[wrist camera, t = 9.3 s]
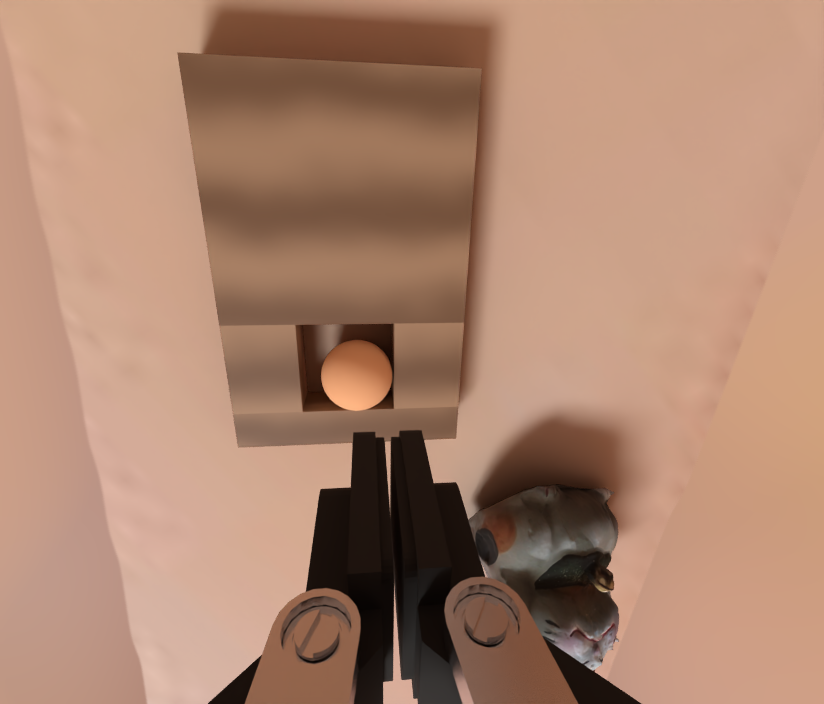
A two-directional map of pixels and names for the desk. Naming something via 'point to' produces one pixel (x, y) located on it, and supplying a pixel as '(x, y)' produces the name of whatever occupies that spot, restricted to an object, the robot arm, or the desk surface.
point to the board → (335, 231)
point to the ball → (356, 375)
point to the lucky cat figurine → (556, 563)
